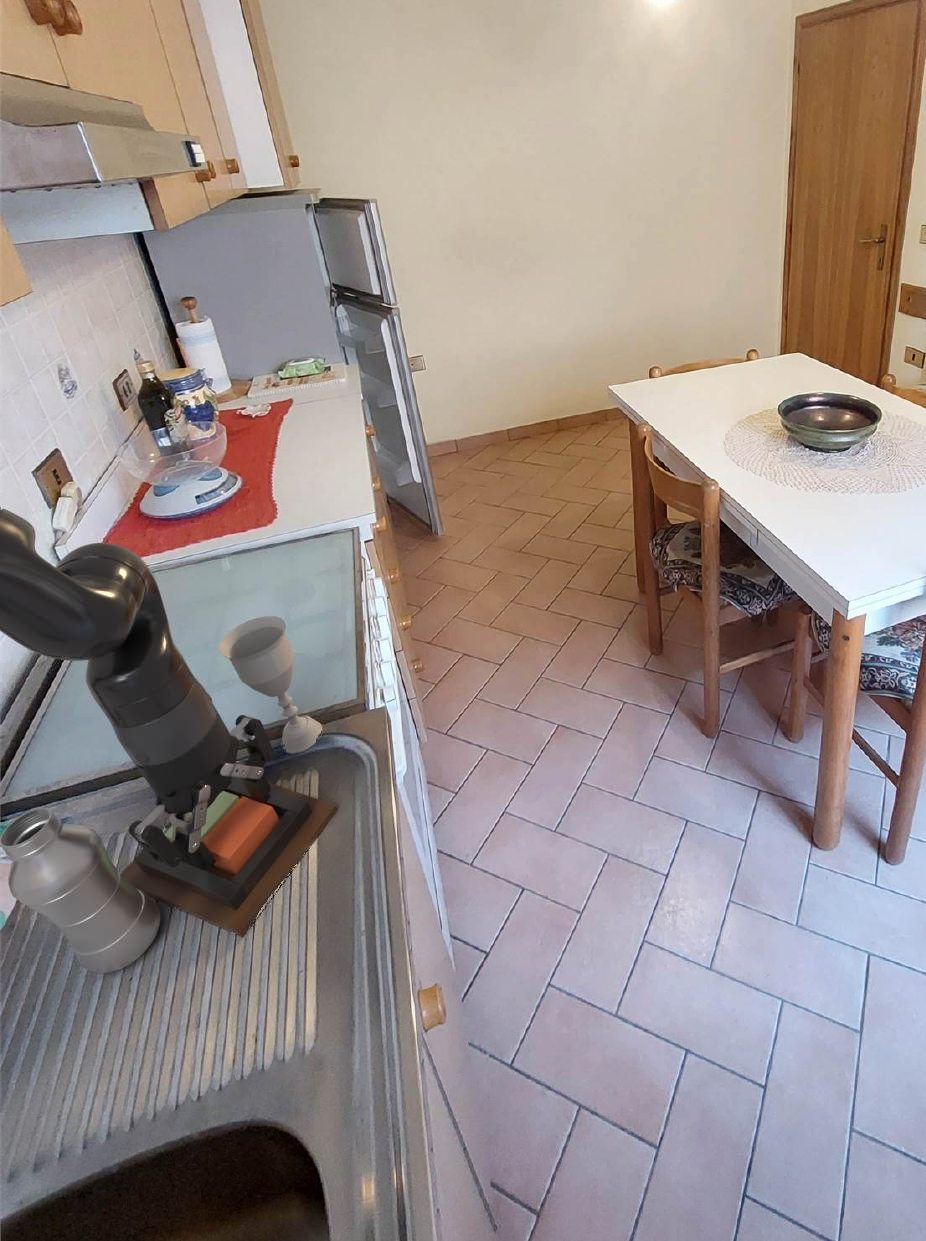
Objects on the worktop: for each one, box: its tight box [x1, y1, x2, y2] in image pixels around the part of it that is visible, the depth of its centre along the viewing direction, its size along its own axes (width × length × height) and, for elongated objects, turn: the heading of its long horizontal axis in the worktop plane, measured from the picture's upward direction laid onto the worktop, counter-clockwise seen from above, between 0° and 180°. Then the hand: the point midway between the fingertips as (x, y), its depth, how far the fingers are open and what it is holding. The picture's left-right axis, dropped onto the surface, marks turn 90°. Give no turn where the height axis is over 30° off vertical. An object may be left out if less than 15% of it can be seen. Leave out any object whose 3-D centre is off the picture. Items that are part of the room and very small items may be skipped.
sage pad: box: [164, 791, 240, 842], centre depth 75 cm, size 6×4×4 cm
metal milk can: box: [0, 807, 161, 974], centre depth 63 cm, size 6×7×20 cm
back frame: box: [120, 777, 338, 938], centre depth 75 cm, size 18×14×3 cm
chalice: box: [218, 615, 323, 754], centre depth 84 cm, size 7×7×18 cm
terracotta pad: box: [202, 796, 280, 875], centre depth 74 cm, size 6×4×4 cm
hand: (235, 829), depth 73 cm, fingers open, 7 cm apart
